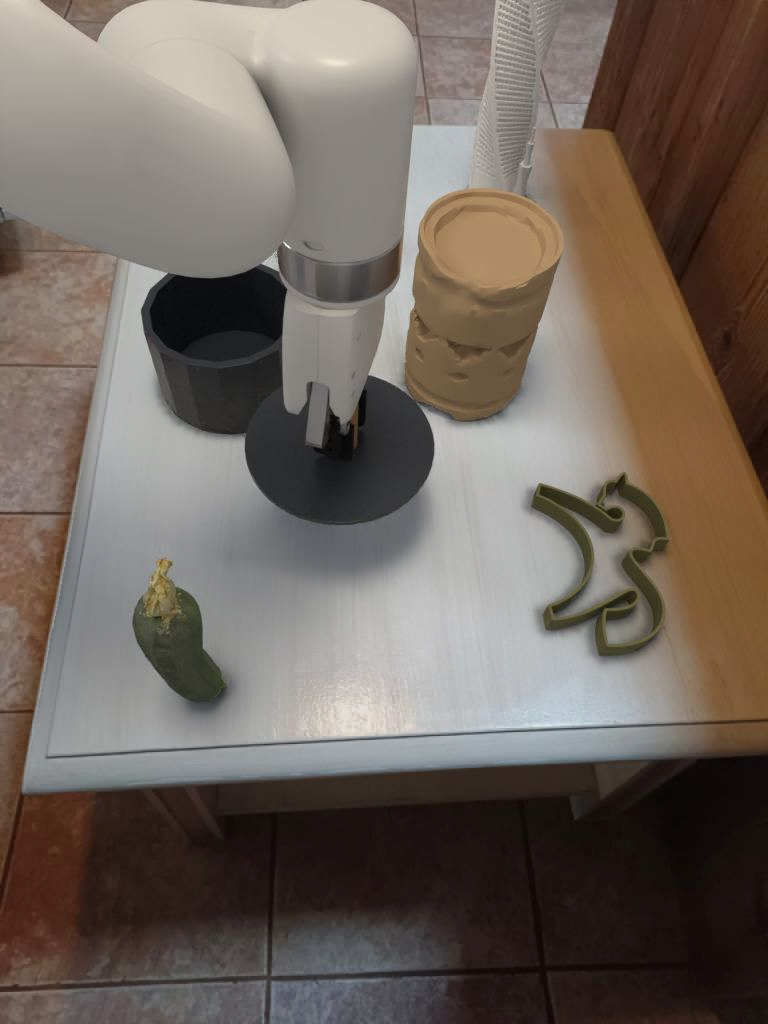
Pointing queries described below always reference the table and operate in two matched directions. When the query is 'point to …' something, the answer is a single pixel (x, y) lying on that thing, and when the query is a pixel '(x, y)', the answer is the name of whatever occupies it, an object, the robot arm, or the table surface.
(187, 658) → the vegetable
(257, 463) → the lid
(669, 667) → the table surface
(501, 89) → the skyscraper
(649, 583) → the cookie cutter
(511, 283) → the container
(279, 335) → the pot
